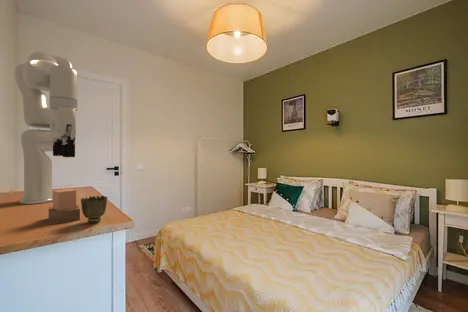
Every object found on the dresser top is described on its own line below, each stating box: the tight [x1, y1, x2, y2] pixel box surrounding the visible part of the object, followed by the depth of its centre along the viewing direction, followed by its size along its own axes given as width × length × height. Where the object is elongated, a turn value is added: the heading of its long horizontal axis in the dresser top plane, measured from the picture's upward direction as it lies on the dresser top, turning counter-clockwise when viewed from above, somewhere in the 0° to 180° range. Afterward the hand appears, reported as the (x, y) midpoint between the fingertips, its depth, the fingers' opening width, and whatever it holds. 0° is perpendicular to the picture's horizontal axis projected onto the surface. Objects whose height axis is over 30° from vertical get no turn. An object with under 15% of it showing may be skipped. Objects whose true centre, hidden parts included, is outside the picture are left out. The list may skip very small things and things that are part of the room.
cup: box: [80, 195, 108, 224], centre depth 76 cm, size 8×7×8 cm
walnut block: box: [48, 203, 81, 225], centre depth 79 cm, size 8×8×4 cm
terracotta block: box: [52, 188, 77, 211], centre depth 79 cm, size 5×5×6 cm
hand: (63, 156), depth 79 cm, fingers open, 9 cm apart
